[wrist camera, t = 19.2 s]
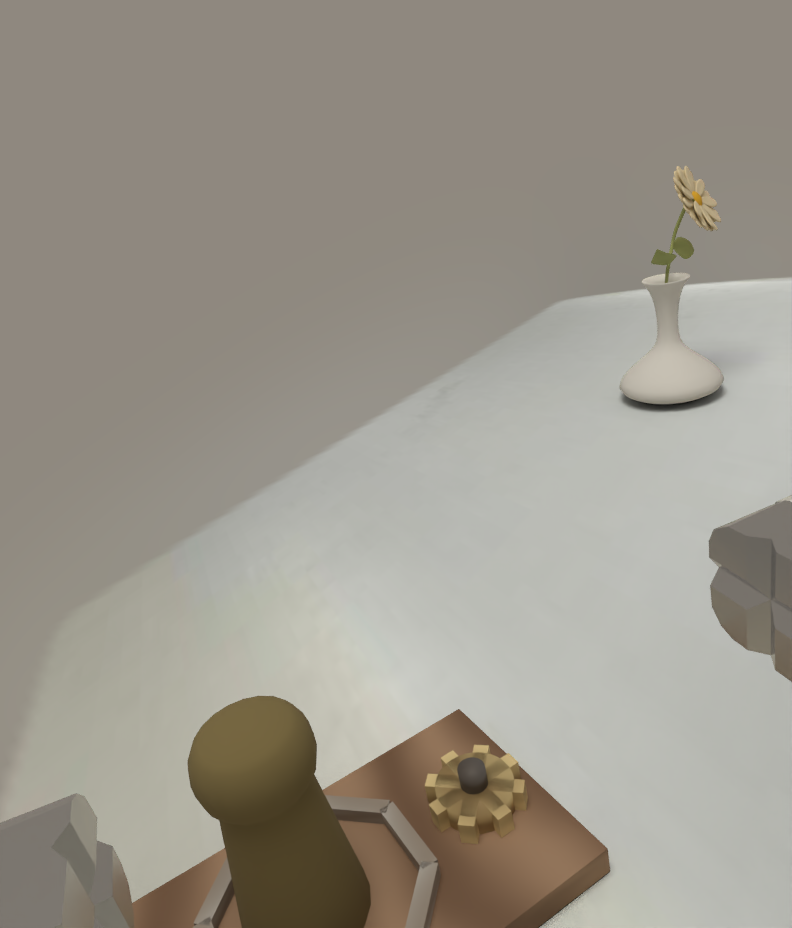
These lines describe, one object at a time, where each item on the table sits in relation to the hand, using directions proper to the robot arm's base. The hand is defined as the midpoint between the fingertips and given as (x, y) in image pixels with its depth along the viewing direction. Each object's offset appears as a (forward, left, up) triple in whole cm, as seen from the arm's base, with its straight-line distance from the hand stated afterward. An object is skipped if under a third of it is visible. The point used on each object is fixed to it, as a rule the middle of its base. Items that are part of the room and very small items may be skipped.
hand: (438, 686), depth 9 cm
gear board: (0, -18, -26) cm, 32 cm away
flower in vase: (-62, -51, -26) cm, 85 cm away
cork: (0, -18, -25) cm, 31 cm away
